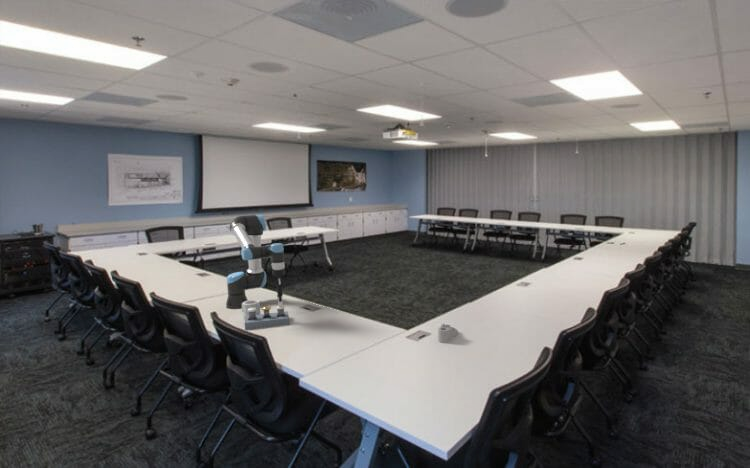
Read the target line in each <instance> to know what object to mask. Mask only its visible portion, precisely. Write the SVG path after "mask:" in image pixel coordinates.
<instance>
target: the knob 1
mask: <svg viewBox="0 0 750 468" xmlns="http://www.w3.org/2000/svg"><path fill="white" fill-rule="evenodd" d="M248 312H249V320H254V319H256V308H249V309H248Z"/></svg>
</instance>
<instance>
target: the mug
mask: <svg viewBox="0 0 750 468" xmlns="http://www.w3.org/2000/svg"><path fill="white" fill-rule="evenodd" d="M249 308H256V315H260V314H261V302H260V300H258V299H248V301H245V302H243V303H242V308H241V312H242V313H243V314H242V317H243V318H244V319H245V316H249V312H248V309H249Z"/></svg>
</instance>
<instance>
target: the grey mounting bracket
mask: <svg viewBox="0 0 750 468" xmlns="http://www.w3.org/2000/svg"><path fill="white" fill-rule="evenodd" d="M437 332H438V336H437V337H438V340H437V341H438V343H441V344H448V343H450V342H452V341H451V340H454V338H455V337H457V335H458V334H459V330H458V329H457V328H455V327H453V326H451V325H450V324H445V323H442V324H441V326H440V327H438V328H437Z"/></svg>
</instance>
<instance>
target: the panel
mask: <svg viewBox="0 0 750 468" xmlns="http://www.w3.org/2000/svg"><path fill="white" fill-rule="evenodd" d="M269 315H270V317H269V318H264V313H262V314H260V315H256V319H254V320H249V316H245V318H244V330H245V331H246V330H254V329H264V328H270V327H280V326H287V325H290V324H291V322H290V321H291V320H290V316H289V312H288V311H284V316H283V317H278V312H271V313H270V312H269Z"/></svg>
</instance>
